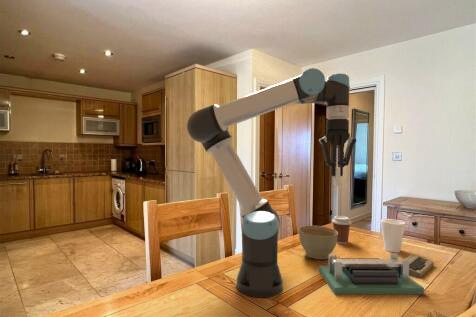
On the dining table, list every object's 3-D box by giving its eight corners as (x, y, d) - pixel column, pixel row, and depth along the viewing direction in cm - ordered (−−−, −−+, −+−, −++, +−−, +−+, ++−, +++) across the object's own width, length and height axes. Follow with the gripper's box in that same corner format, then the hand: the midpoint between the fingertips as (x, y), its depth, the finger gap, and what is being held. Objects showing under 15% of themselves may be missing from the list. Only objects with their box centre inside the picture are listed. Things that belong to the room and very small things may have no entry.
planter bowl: (341, 264, 106) (341, 237, 105) (299, 261, 108) (299, 235, 108) (333, 250, 121) (334, 226, 121) (297, 247, 124) (297, 224, 124)
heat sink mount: (338, 287, 86) (338, 264, 86) (326, 270, 98) (326, 250, 98) (413, 287, 86) (413, 264, 86) (391, 271, 98) (392, 250, 98)
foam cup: (404, 248, 123) (405, 220, 123) (404, 255, 116) (405, 225, 115) (381, 244, 128) (381, 217, 128) (379, 250, 121) (380, 222, 120)
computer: (421, 279, 95) (421, 270, 94) (395, 271, 101) (396, 263, 101) (433, 267, 105) (434, 259, 105) (410, 260, 111) (410, 253, 111)
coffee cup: (335, 244, 128) (335, 219, 128) (328, 238, 137) (329, 215, 137) (354, 244, 128) (354, 219, 128) (346, 238, 138) (346, 215, 137)
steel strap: (334, 267, 90) (334, 262, 90) (330, 262, 94) (330, 258, 94) (404, 267, 90) (404, 262, 90) (397, 262, 94) (397, 258, 94)
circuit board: (334, 293, 84) (334, 287, 84) (318, 271, 100) (318, 265, 100) (423, 294, 84) (424, 287, 84) (394, 271, 100) (394, 266, 100)
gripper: (322, 117, 92) (321, 186, 92) (360, 118, 92) (359, 186, 92) (316, 120, 99) (315, 184, 100) (351, 120, 99) (350, 184, 100)
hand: (336, 185), depth 96 cm, fingers closed
